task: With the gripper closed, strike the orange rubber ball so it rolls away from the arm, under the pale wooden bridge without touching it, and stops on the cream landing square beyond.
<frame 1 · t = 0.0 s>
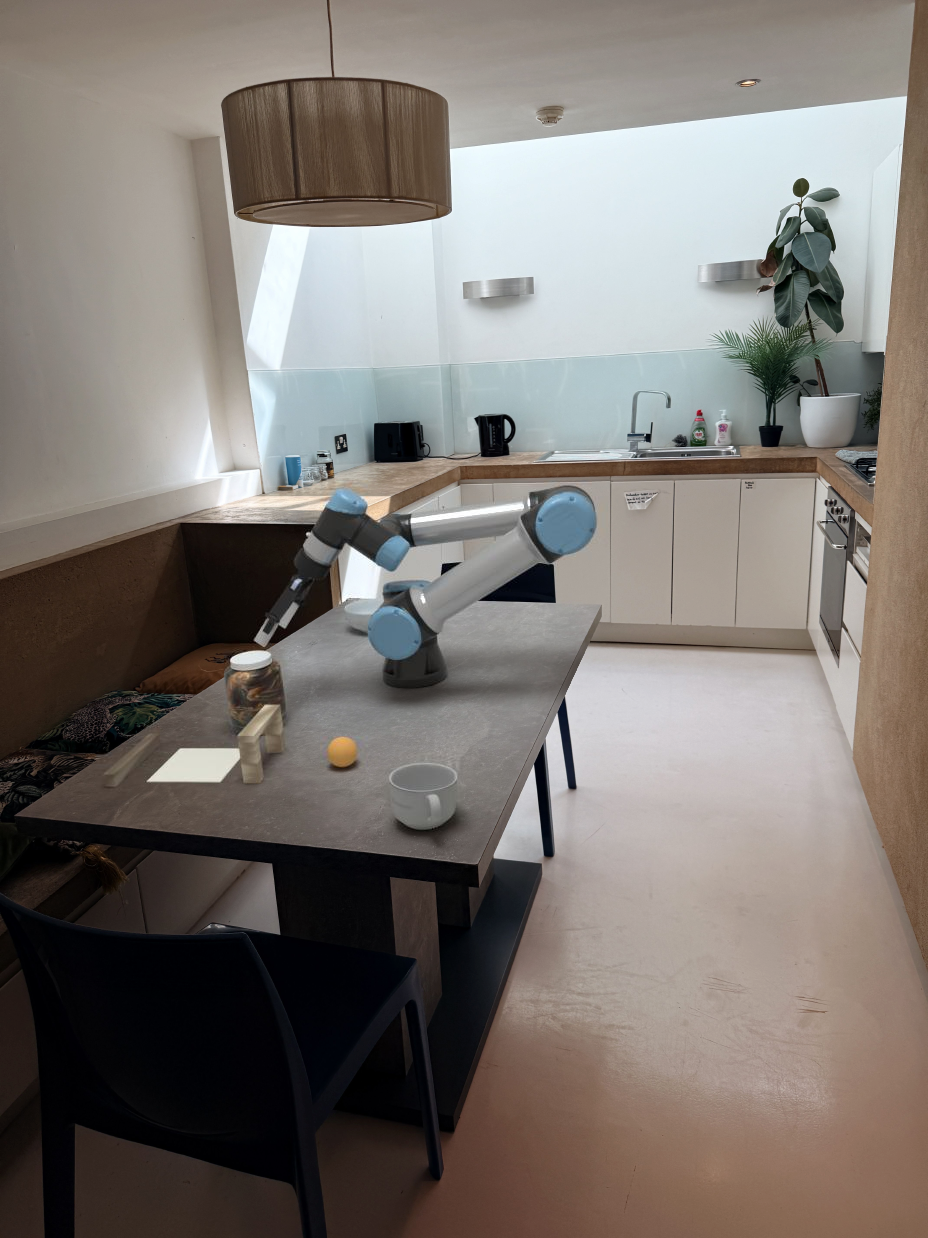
hand: (270, 634, 191), 15 cm above the table, tool tilted 35°, fingers open, 13 cm apart
ball: (342, 752, 160), on the table
cereal bowl: (376, 630, 244), on the table
teacup: (427, 826, 138), on the table
jar: (259, 726, 181), on the table
bridge: (265, 765, 162), on the table
stopper: (134, 765, 166), on the table
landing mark: (199, 765, 164), on the table
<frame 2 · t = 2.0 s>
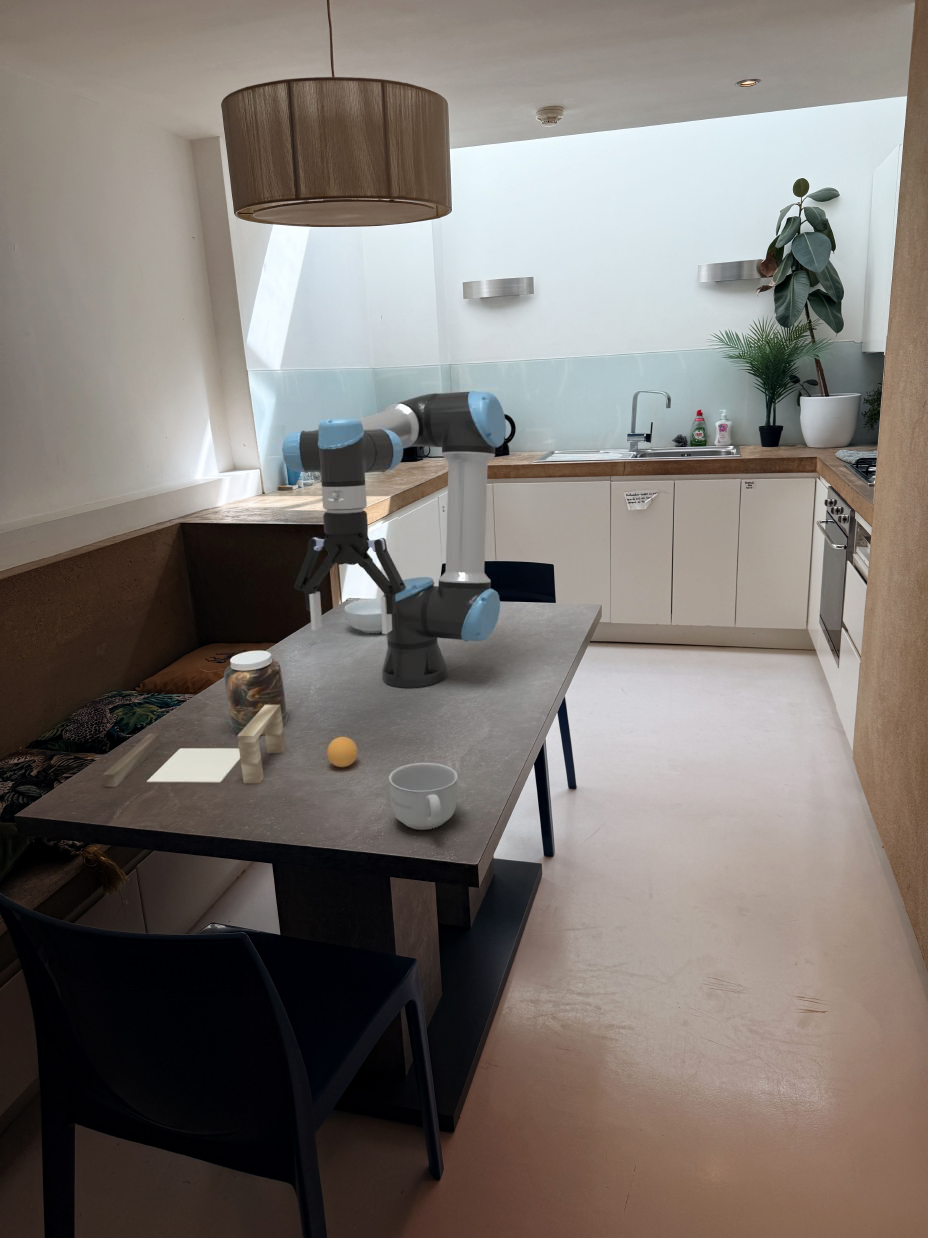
hand: (351, 630, 155), 25 cm above the table, tool pointing down, fingers open, 13 cm apart
nothing on the table moved.
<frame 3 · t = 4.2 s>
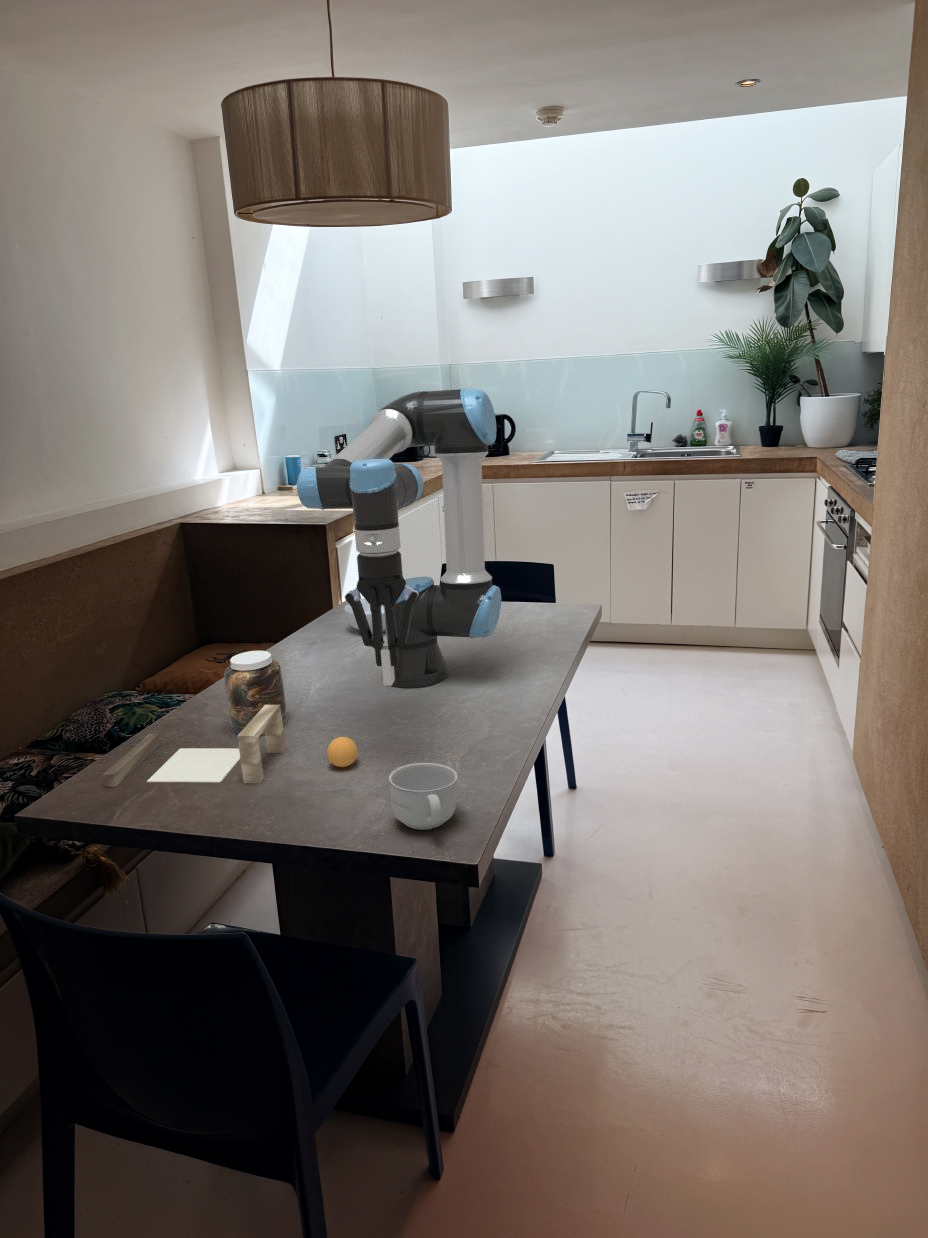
hand: (389, 682, 154), 16 cm above the table, tool pointing down, fingers closed
nothing on the table moved.
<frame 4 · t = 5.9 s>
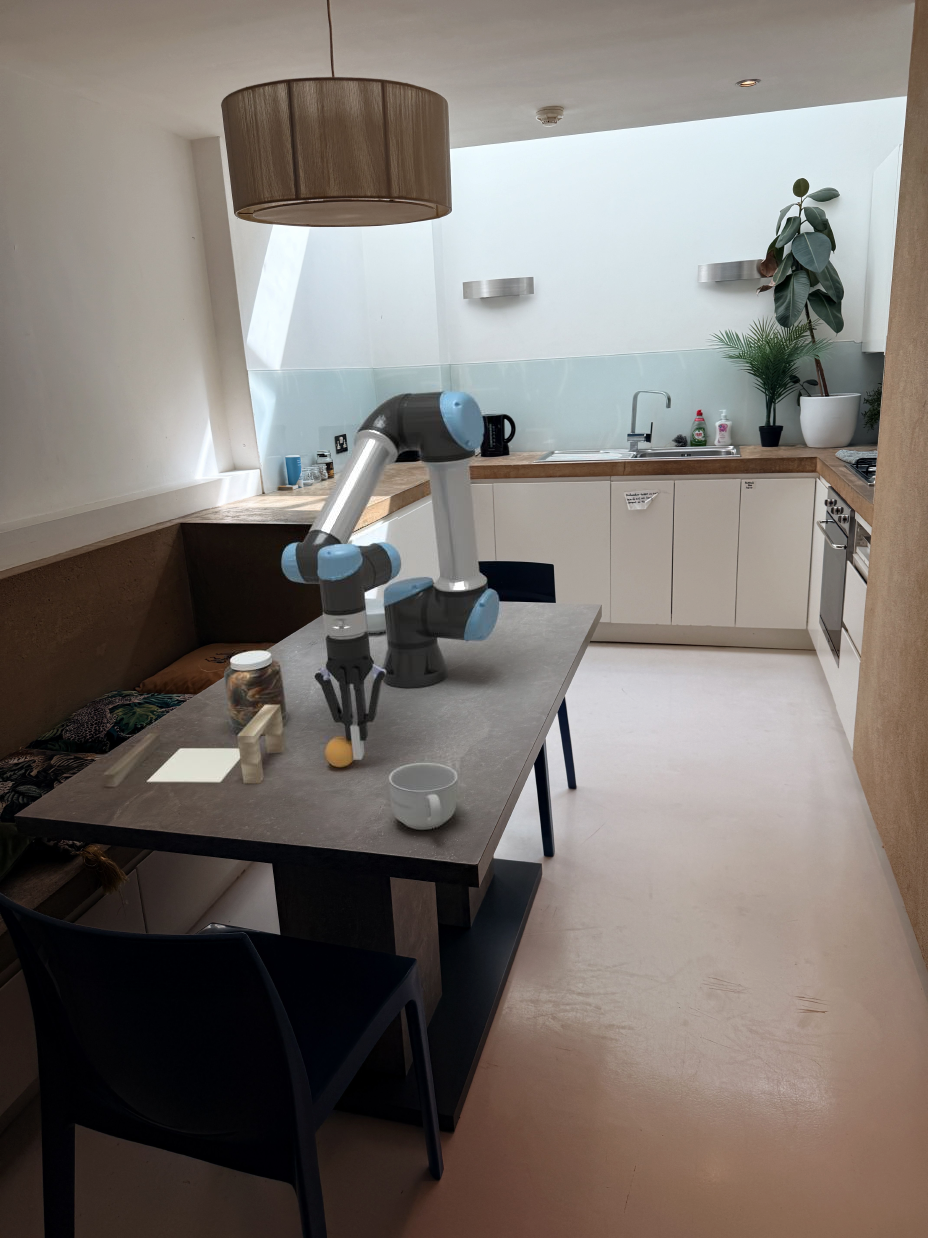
hand: (359, 756, 159), 2 cm above the table, tool pointing down, fingers closed
ball: (340, 752, 160), on the table, touching gripper
everything else where it was.
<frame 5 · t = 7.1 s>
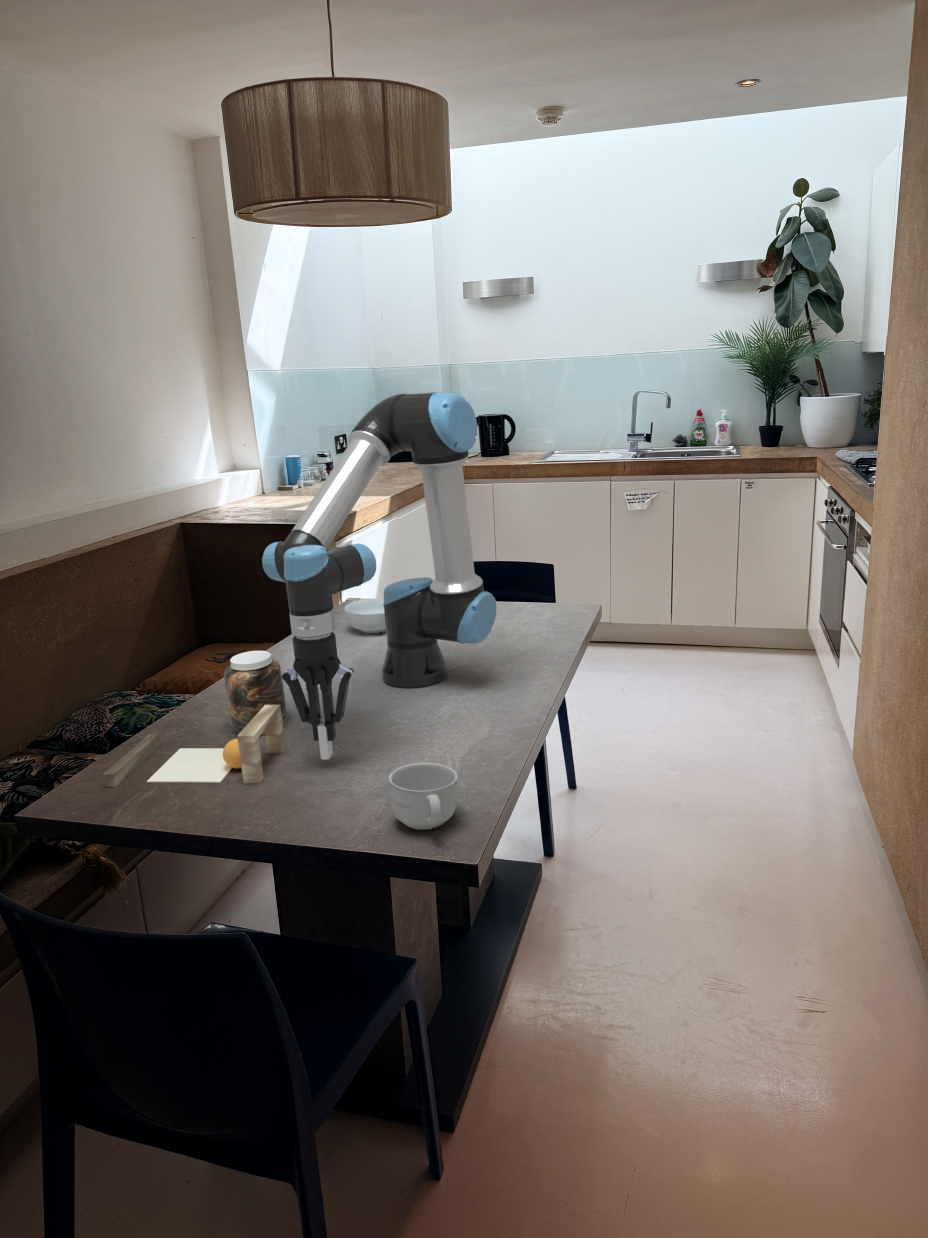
hand: (326, 756, 160), 2 cm above the table, tool pointing down, fingers closed
ball: (238, 753, 161), on the table
everything else where it was.
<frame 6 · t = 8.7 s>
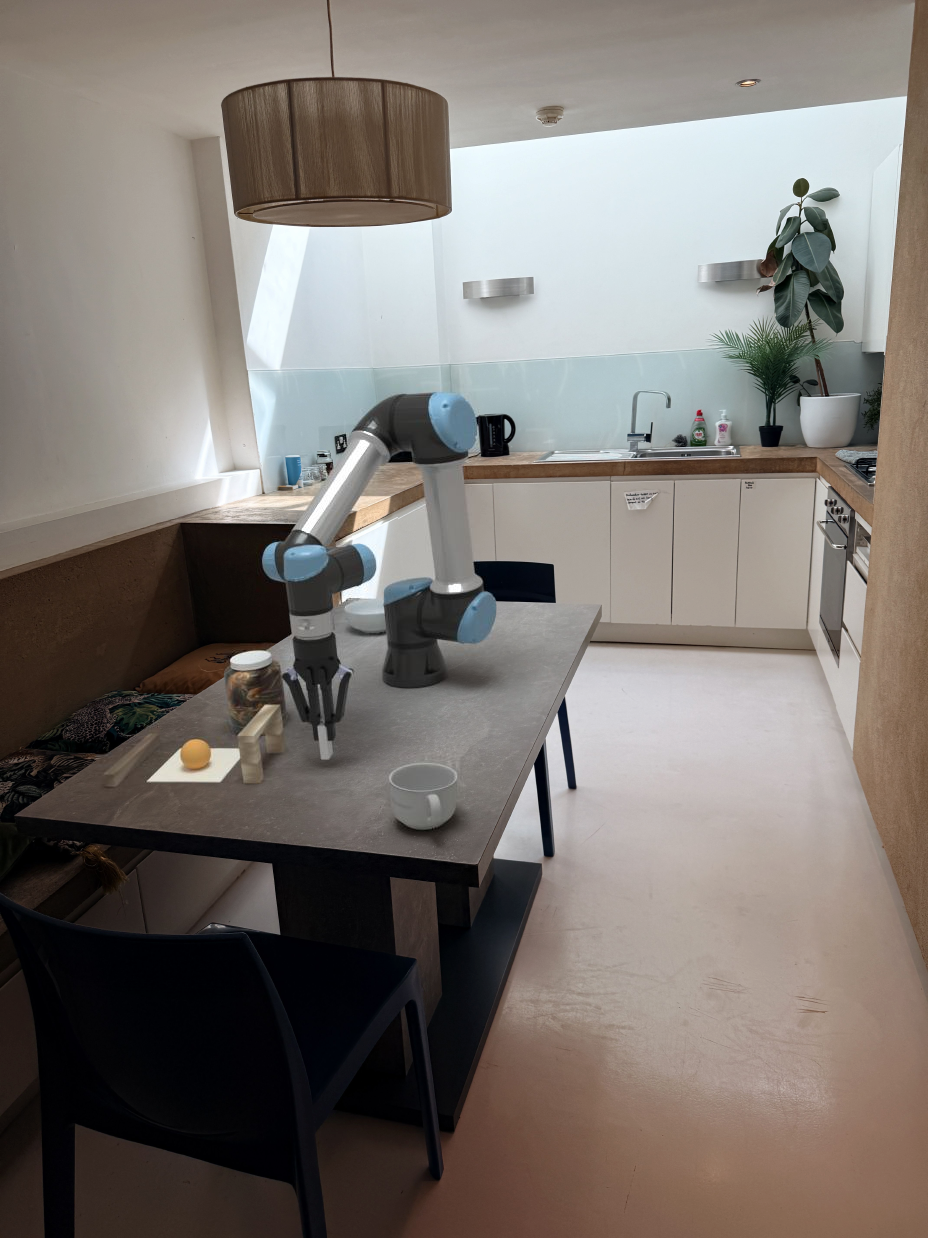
hand: (326, 756, 160), 2 cm above the table, tool pointing down, fingers closed
ball: (195, 754, 162), on the table
everything else where it was.
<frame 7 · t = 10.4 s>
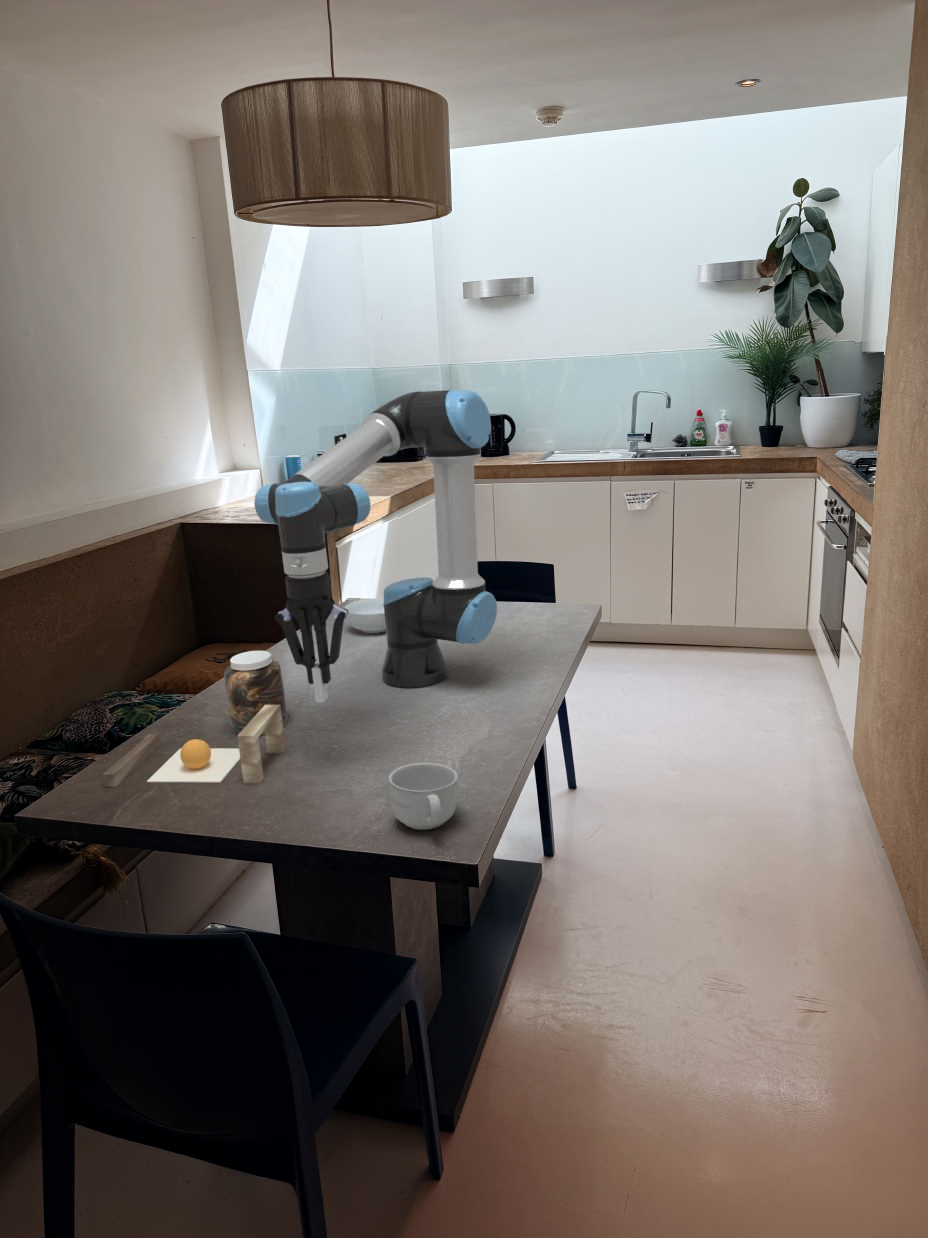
hand: (321, 699, 157), 13 cm above the table, tool pointing down, fingers closed
nothing on the table moved.
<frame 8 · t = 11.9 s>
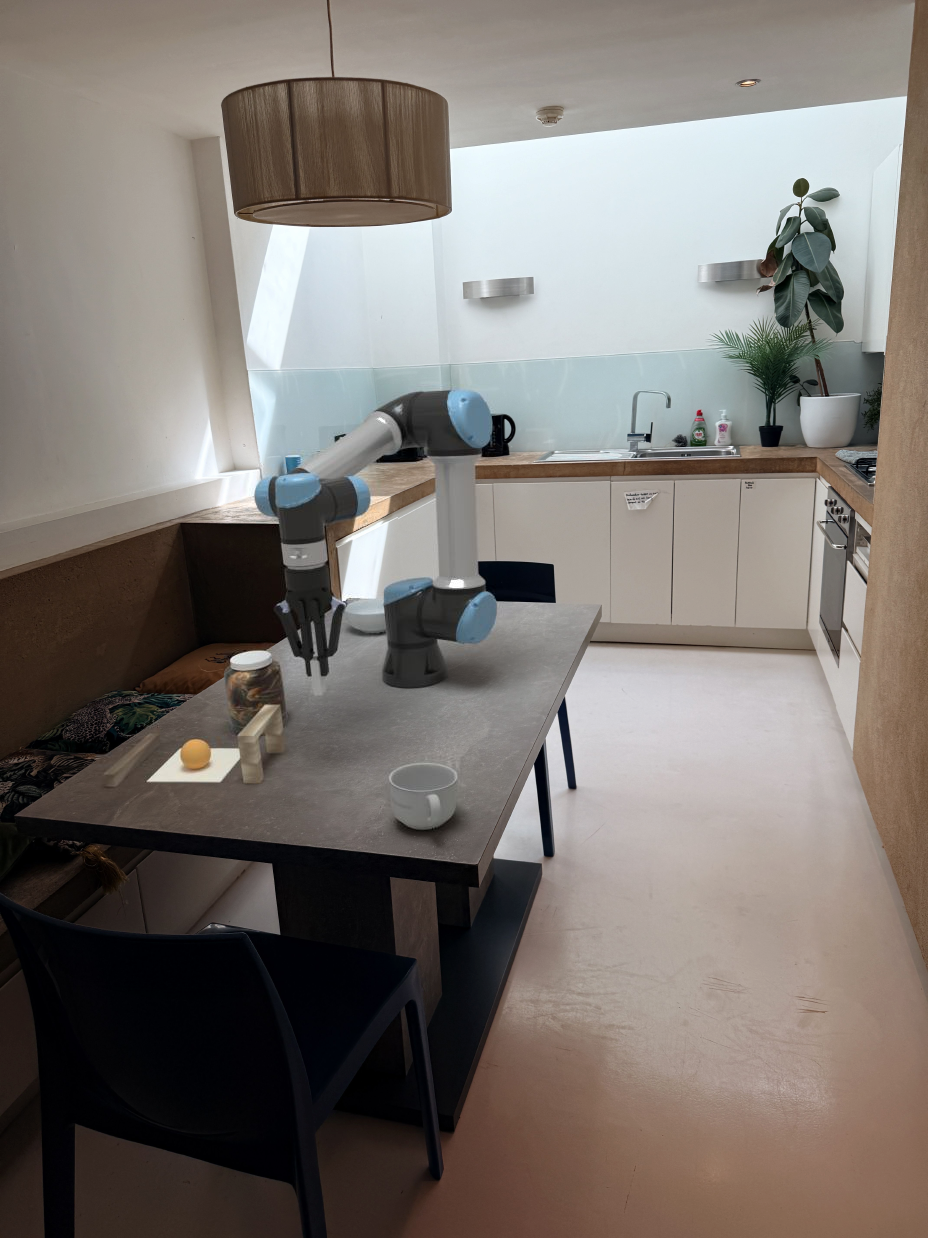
hand: (320, 692, 157), 14 cm above the table, tool pointing down, fingers closed
nothing on the table moved.
at the end: ball 1.0 cm from the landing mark (horizontally); ball never touched bridge; ball at rest at the end (0.0 cm/s) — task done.
